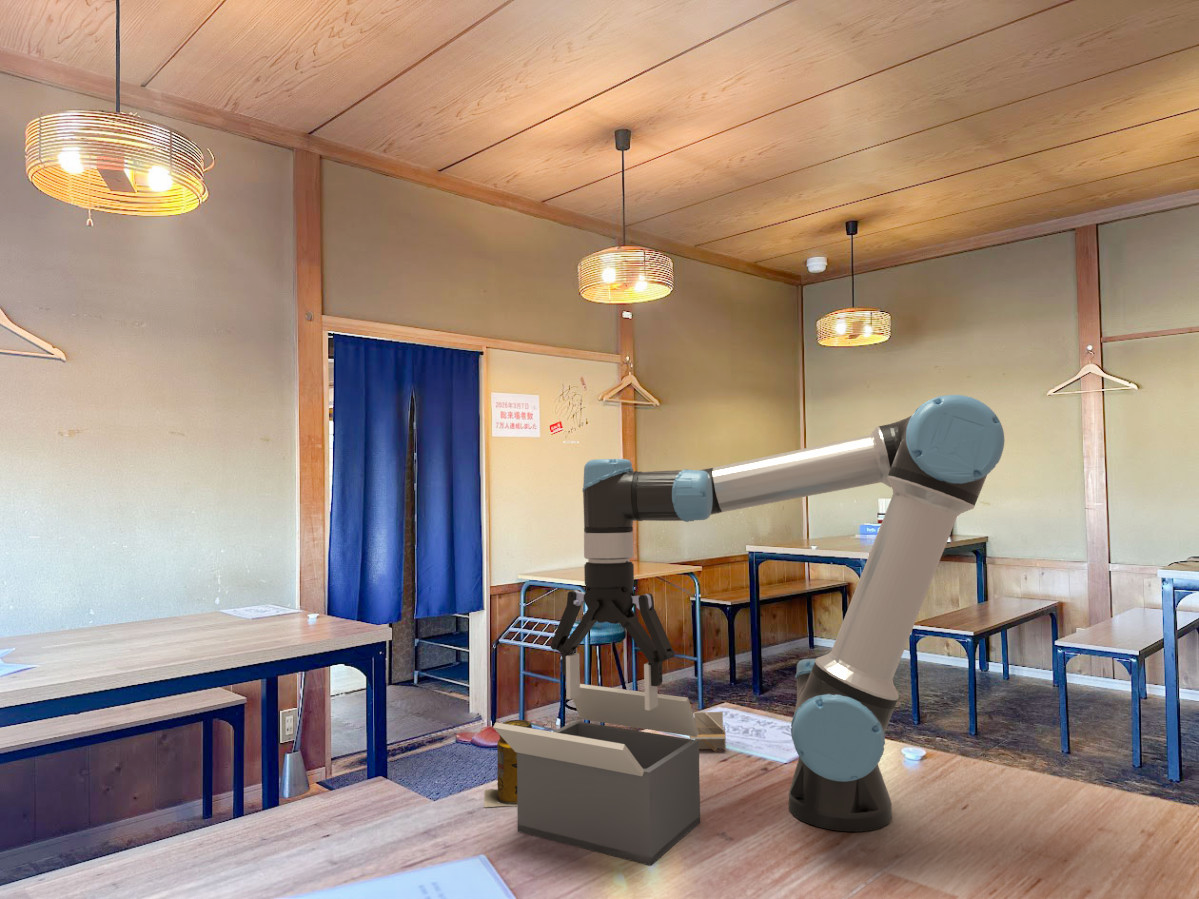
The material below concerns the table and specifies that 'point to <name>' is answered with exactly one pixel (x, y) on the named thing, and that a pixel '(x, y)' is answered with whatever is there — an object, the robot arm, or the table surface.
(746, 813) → the table surface
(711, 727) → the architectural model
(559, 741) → the near flap
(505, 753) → the condiment
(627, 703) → the far flap
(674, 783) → the carton
